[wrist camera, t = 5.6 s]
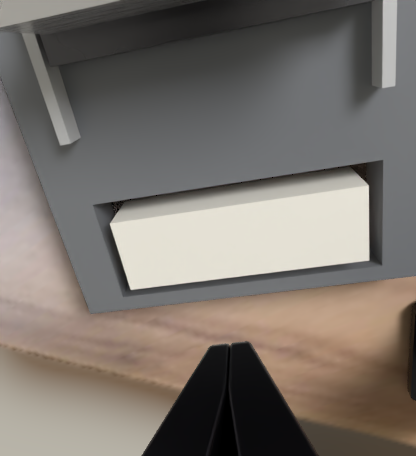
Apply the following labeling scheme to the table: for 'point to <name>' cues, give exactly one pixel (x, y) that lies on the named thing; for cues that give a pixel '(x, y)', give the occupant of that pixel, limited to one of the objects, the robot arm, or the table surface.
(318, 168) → the panel
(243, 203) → the button white
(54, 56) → the slider paddle
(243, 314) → the table surface
